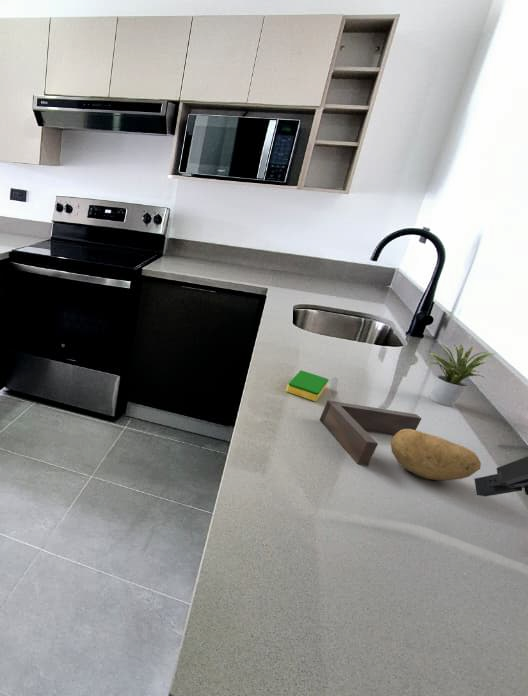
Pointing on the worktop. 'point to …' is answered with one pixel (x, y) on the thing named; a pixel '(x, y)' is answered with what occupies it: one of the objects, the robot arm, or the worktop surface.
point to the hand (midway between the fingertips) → (480, 487)
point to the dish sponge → (307, 385)
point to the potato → (433, 456)
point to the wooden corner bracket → (363, 426)
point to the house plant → (454, 376)
